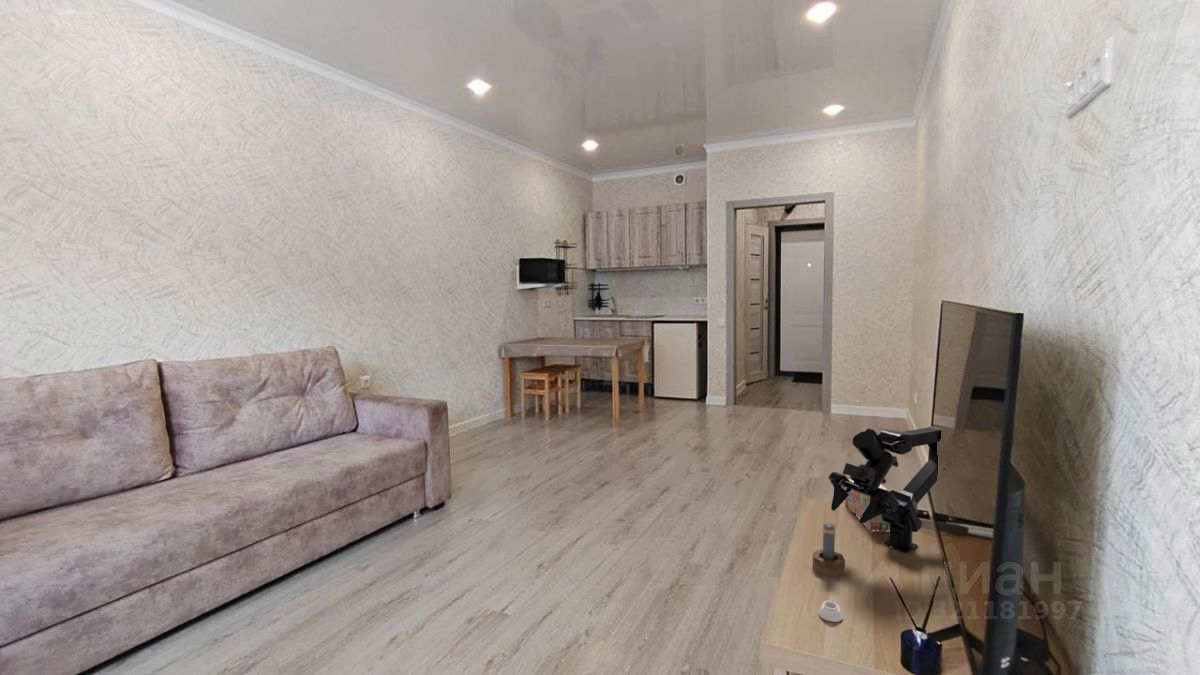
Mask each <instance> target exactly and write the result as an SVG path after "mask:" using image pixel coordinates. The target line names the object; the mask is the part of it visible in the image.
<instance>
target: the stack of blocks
mask: <svg viewBox="0 0 1200 675" xmlns="http://www.w3.org/2000/svg"><path fill="white" fill-rule="evenodd" d="M848 479H849V481H850V482H853V483H854V481H853V480H851V479H850V478H848ZM879 488H881V489H884V490H886V491H889V490H888V489H887V488H886V487H885V486H884V485H882V483H881V484H880V486H879ZM858 489H859V488H858ZM847 493H848V494H849V496H848V497H847V498H846V499H845V500H844V503H845V506H846V507H847V508H848V510H850V511H851V512H853V513H855V514H857V516H859V518H860V519H861V516H862V515H863V513H864V511H865V510H866V508H867V507H868V505H869V503H870V497H869V496H867V495H864V494H862V493H859V492H857V491H854V490H851V491H850V492H847ZM853 513H852V514H853ZM865 524H866V526H867V527H868V528H869V530H870V531H872V530H875V531H877V530H879V531H881V530H882V531H887V530H890V523H887V522H884V521H883V519H882V515H881V514H880V515H878V516H876V517H874V518H872V519H870V520H869V521H867V522H865ZM869 530H868V531H869ZM870 531H869V532H870Z"/></svg>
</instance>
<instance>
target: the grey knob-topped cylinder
mask: <svg viewBox="0 0 1200 675" xmlns="http://www.w3.org/2000/svg"><path fill="white" fill-rule="evenodd" d="M822 524H823V525H822V534H823V535H822V549H823V559H825V560H829V561H834V551H835V546H836V544H835V538H836V537H835V535H836V527H835V525H834V524H832V523H828V522H827V523H826V522H825V523H822Z"/></svg>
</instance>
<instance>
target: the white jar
mask: <svg viewBox="0 0 1200 675" xmlns="http://www.w3.org/2000/svg"><path fill="white" fill-rule="evenodd" d="M818 616H819V617H820V618H821V619H822V620H825V621H828V622H833V623H838V622H841V621H842V620H843V617H844V615H843V613H842V610H841V609H840V607H839V605H838V604H837V603H836V602H835V601H831V600H825V601H823V604H822V605H821V606H820V608H819V609H818Z"/></svg>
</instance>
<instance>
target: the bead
mask: <svg viewBox="0 0 1200 675" xmlns="http://www.w3.org/2000/svg"><path fill="white" fill-rule="evenodd" d="M812 566H813V569H814V571H815V572H817V573H818V574H821V575H823V576H825V577H835V578H837V577H840V576H842V575H844V574H845V573H846V572H845V571H846V568H845V567H846V559H845V558H844V555H843V553H842V554H841V553H840V552H837V551H835V550H834V561H829V560H825V559H823V548H821V549H818V550H815V551H813V552H812Z"/></svg>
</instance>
